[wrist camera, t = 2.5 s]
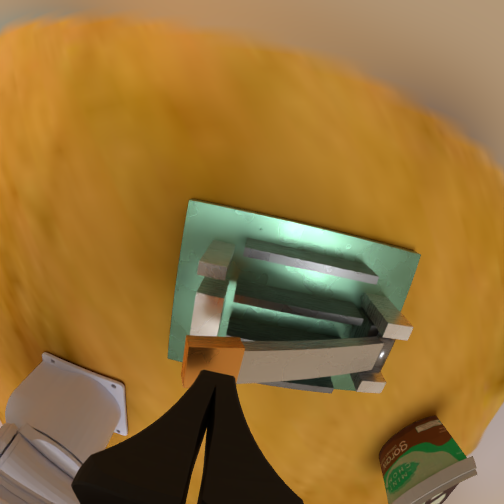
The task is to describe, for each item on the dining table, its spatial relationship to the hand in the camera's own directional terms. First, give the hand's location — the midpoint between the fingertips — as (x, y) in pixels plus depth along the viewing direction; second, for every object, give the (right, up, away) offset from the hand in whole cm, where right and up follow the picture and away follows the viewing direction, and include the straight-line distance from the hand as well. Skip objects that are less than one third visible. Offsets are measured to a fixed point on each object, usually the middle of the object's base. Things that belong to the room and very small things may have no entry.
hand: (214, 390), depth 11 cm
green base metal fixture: (+4, +2, +10) cm, 11 cm away
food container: (+18, -16, +14) cm, 28 cm away
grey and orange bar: (+4, 0, +4) cm, 6 cm away
